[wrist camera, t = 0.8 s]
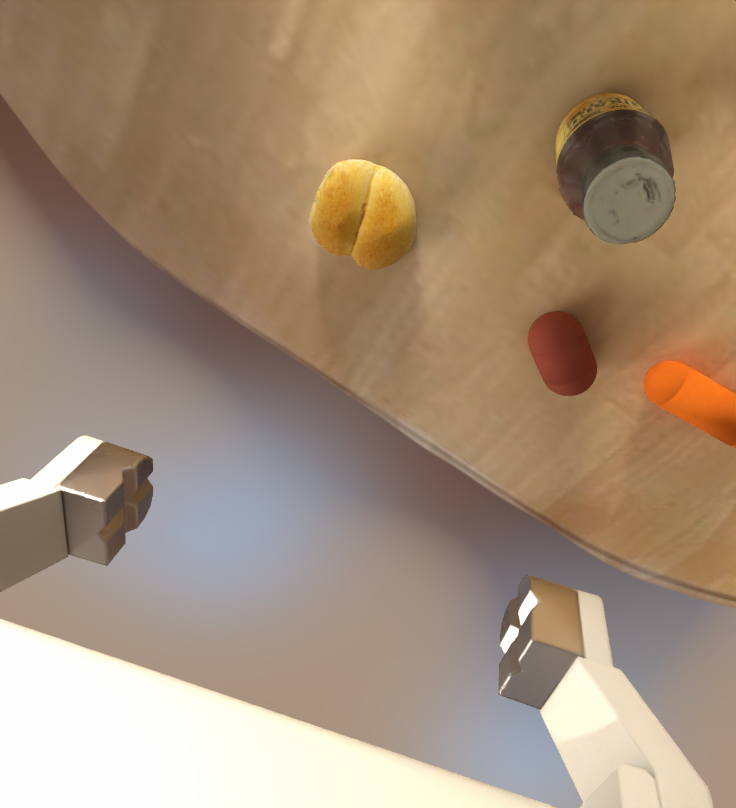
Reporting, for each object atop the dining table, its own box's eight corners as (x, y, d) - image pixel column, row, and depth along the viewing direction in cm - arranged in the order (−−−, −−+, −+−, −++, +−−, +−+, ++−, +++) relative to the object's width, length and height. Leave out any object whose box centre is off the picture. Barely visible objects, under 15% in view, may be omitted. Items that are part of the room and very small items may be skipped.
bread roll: (398, 276, 52) (390, 292, 49) (306, 234, 52) (292, 248, 49) (436, 187, 48) (430, 198, 44) (336, 141, 47) (322, 149, 44)
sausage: (519, 314, 52) (519, 337, 48) (571, 294, 50) (576, 316, 46) (550, 386, 55) (553, 412, 51) (601, 369, 53) (607, 395, 49)
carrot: (630, 378, 53) (637, 401, 49) (661, 344, 50) (671, 366, 47) (738, 440, 54) (752, 466, 50) (774, 409, 51) (791, 434, 48)
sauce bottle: (651, 87, 41) (738, 123, 25) (635, 181, 44) (703, 267, 28) (553, 92, 43) (574, 129, 26) (545, 183, 46) (559, 266, 29)
